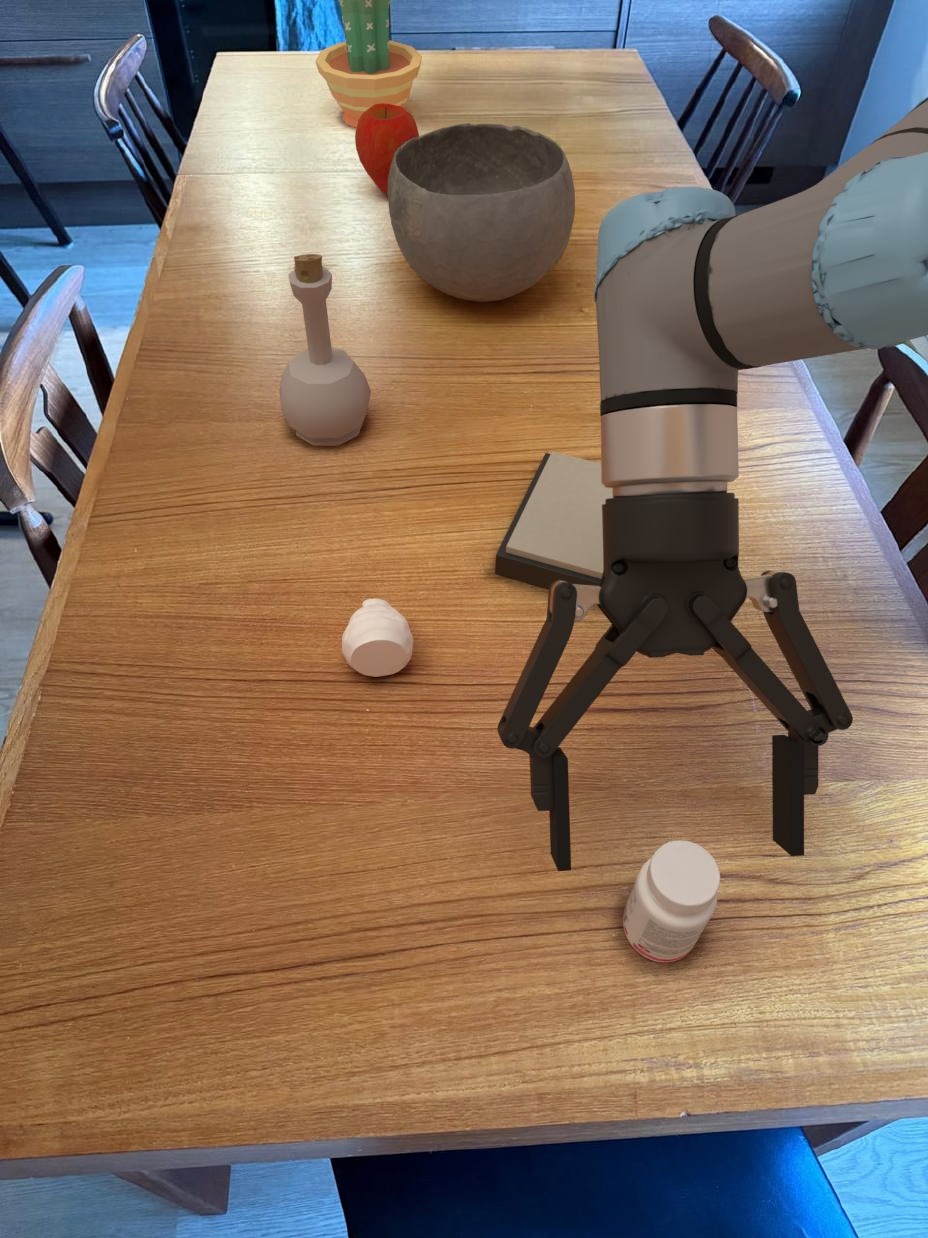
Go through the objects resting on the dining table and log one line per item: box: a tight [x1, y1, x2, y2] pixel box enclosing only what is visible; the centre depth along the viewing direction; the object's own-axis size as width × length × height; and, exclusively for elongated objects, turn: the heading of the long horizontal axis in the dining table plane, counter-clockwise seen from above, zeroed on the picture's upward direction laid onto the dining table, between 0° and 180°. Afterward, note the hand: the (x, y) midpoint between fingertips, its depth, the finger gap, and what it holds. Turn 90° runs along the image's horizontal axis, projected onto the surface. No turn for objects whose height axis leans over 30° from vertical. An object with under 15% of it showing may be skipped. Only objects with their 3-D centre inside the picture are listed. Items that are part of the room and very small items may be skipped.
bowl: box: [386, 122, 576, 303], centre depth 100 cm, size 20×20×15 cm
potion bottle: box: [279, 253, 372, 447], centre depth 82 cm, size 9×9×18 cm
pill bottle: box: [622, 839, 721, 963], centre depth 54 cm, size 5×5×8 cm
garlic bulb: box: [341, 597, 414, 678], centre depth 69 cm, size 6×6×6 cm
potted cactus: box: [315, 0, 423, 128], centre depth 126 cm, size 15×15×25 cm
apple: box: [354, 103, 420, 195], centre depth 116 cm, size 9×8×11 cm
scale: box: [494, 451, 613, 590], centre depth 78 cm, size 16×14×3 cm
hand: (675, 855), depth 53 cm, fingers open, 13 cm apart
